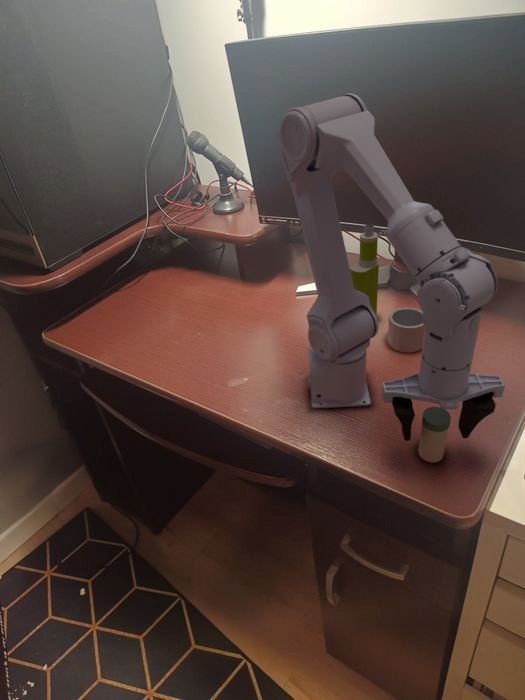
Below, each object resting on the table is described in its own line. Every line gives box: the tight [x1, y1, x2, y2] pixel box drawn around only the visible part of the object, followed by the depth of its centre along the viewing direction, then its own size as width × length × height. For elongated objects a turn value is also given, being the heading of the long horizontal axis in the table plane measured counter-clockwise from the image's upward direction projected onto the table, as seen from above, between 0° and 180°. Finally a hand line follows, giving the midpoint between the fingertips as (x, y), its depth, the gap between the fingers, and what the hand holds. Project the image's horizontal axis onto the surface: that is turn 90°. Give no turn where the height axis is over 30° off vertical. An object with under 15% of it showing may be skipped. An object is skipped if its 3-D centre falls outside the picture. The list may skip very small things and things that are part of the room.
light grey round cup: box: [387, 306, 425, 353], centre depth 86 cm, size 7×7×6 cm
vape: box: [349, 223, 380, 316], centre depth 88 cm, size 4×6×20 cm, turn 129°
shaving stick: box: [417, 406, 452, 463], centre depth 64 cm, size 4×4×8 cm
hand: (434, 434), depth 63 cm, fingers open, 7 cm apart
